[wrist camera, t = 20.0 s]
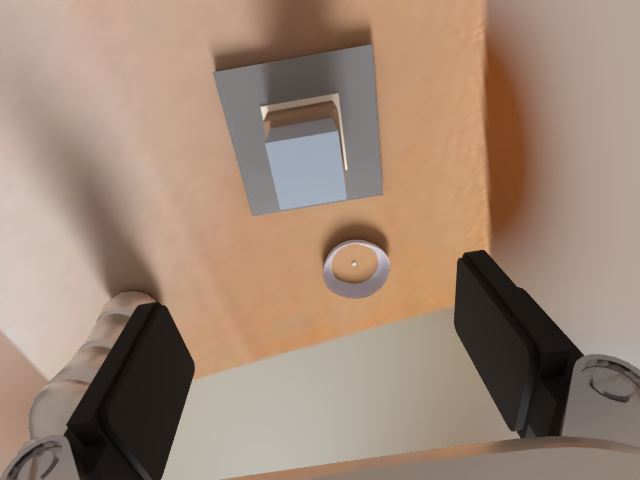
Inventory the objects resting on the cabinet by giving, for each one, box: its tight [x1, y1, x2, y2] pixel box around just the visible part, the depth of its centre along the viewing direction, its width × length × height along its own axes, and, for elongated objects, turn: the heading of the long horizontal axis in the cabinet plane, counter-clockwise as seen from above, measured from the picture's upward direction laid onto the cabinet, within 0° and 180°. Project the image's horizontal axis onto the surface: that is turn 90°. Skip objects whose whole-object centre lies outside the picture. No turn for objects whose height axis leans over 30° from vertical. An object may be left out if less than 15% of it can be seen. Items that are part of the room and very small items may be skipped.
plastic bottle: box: [17, 291, 156, 455], centre depth 35 cm, size 6×7×20 cm
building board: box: [213, 44, 383, 216], centre depth 34 cm, size 14×14×1 cm
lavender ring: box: [323, 240, 390, 298], centre depth 42 cm, size 8×8×2 cm
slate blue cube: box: [265, 118, 347, 210], centre depth 27 cm, size 5×5×5 cm
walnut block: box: [263, 101, 347, 181], centre depth 31 cm, size 6×6×5 cm
